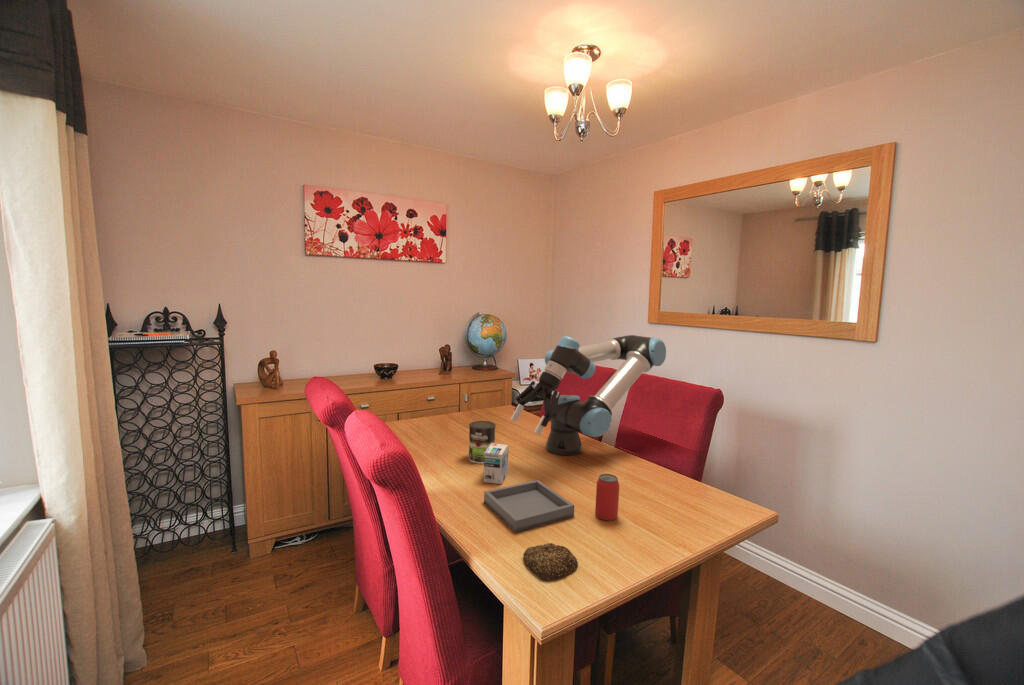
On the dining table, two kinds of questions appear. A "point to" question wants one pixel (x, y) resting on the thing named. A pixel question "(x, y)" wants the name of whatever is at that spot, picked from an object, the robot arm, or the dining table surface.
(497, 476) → the light bulb box
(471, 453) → the coffee can
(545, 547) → the bread roll
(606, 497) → the beer can
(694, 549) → the dining table surface
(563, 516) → the tray
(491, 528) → the dining table surface
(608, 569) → the dining table surface
